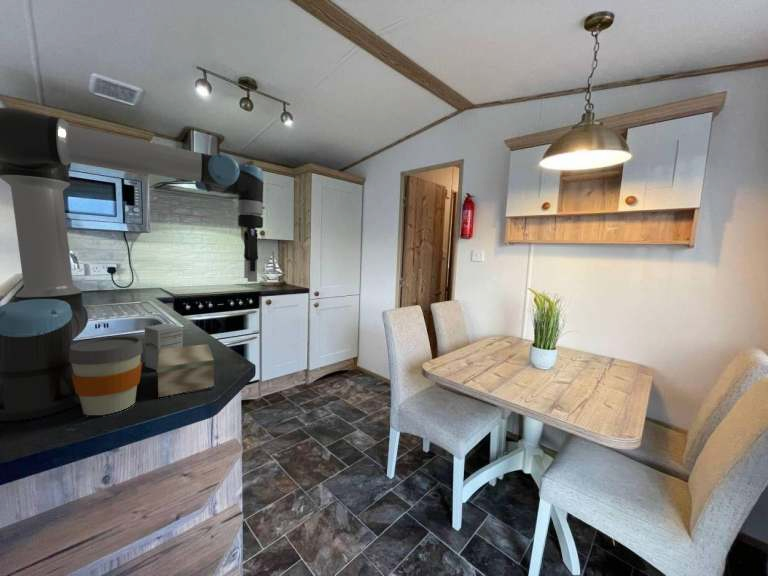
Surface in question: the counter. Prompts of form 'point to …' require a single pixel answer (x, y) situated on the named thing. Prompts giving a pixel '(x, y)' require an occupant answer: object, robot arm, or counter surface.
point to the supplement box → (161, 341)
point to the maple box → (184, 369)
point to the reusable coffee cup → (106, 373)
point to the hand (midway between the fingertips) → (250, 279)
